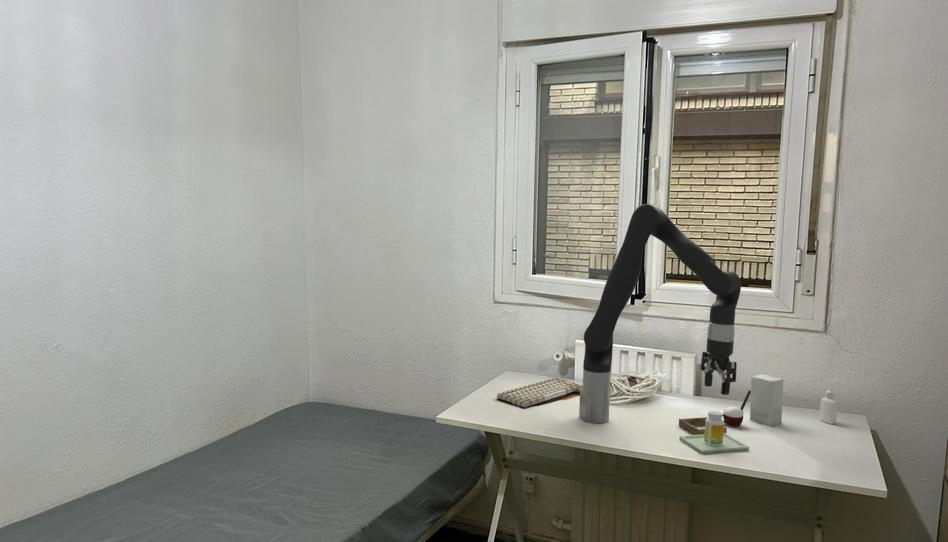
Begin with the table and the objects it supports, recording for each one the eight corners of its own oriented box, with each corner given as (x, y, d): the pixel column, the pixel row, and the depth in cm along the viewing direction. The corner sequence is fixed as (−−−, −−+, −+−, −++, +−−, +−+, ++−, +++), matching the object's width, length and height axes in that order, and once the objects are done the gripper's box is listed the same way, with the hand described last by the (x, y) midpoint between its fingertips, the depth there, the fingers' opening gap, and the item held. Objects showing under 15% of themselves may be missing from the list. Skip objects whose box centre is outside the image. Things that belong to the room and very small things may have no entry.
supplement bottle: (700, 442, 197) (702, 411, 196) (709, 438, 201) (711, 408, 200) (716, 447, 193) (718, 416, 192) (726, 443, 196) (727, 413, 196)
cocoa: (718, 426, 215) (718, 391, 214) (721, 420, 221) (721, 386, 219) (748, 430, 211) (748, 395, 209) (751, 424, 216) (751, 389, 215)
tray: (701, 454, 189) (702, 450, 189) (679, 439, 201) (679, 436, 201) (748, 450, 193) (749, 446, 193) (724, 436, 205) (724, 432, 204)
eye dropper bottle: (832, 419, 223) (835, 386, 222) (836, 425, 218) (839, 390, 217) (818, 418, 225) (821, 385, 223) (822, 423, 219) (825, 389, 218)
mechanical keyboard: (531, 413, 225) (531, 403, 225) (492, 401, 239) (492, 392, 239) (593, 393, 252) (593, 385, 251) (555, 383, 265) (555, 375, 265)
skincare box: (781, 424, 218) (785, 379, 216) (769, 427, 215) (773, 381, 213) (759, 416, 225) (762, 373, 224) (747, 419, 222) (750, 375, 220)
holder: (697, 437, 203) (697, 429, 203) (678, 426, 213) (678, 418, 213) (726, 435, 206) (726, 427, 205) (706, 424, 216) (707, 417, 216)
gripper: (696, 333, 199) (692, 384, 201) (724, 343, 185) (719, 397, 187) (717, 332, 201) (713, 383, 203) (746, 342, 187) (742, 396, 189)
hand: (716, 390), depth 195 cm, fingers open, 8 cm apart
